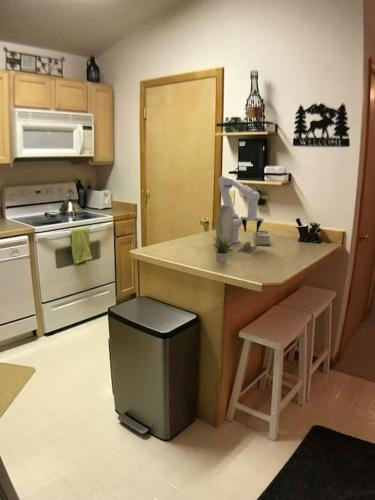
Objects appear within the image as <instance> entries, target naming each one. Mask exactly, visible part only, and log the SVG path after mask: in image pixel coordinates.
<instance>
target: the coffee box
mask: <svg viewBox="0 0 375 500" xmlns="http://www.w3.org/2000/svg"><path fill="white" fill-rule="evenodd" d="M256 230H257V229H256ZM256 230H253V241H254V245H257V246H259V245H263V246H264V245H265V246H268V245H270V234H269V232H268V231H267V230H258V233H256Z"/></svg>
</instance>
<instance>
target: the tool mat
mask: <svg viewBox="0 0 375 500" xmlns="http://www.w3.org/2000/svg"><path fill="white" fill-rule="evenodd" d="M257 247H258V245H257V244H254V247H253V248H250V249H249V250H248V251H246V250H243V248H244V245H242V247H240V248H238V250H237V252H239V253H240V252H241V253H242V252H243V253H249V254H250V253H252V252H254V250H255V249H256V248H257Z"/></svg>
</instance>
